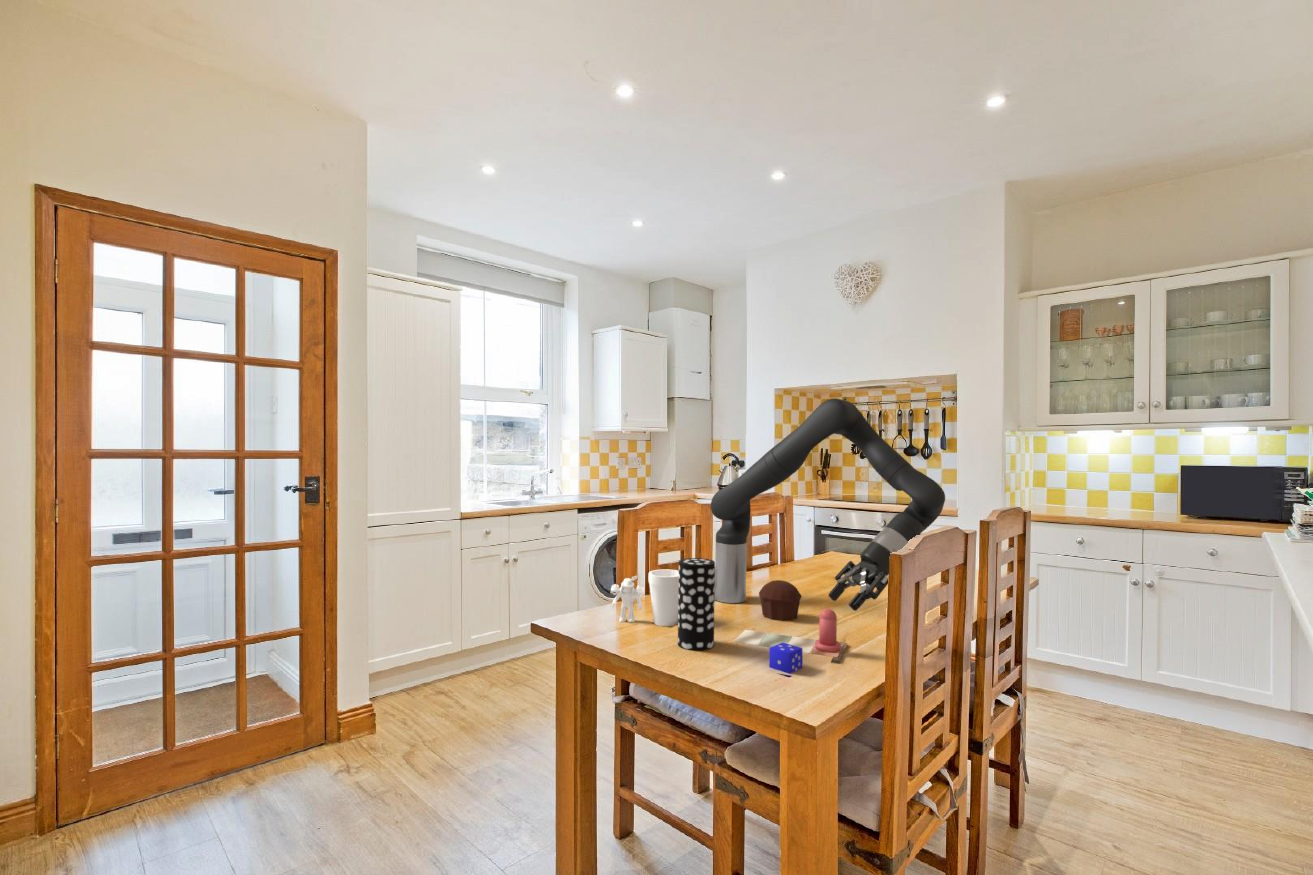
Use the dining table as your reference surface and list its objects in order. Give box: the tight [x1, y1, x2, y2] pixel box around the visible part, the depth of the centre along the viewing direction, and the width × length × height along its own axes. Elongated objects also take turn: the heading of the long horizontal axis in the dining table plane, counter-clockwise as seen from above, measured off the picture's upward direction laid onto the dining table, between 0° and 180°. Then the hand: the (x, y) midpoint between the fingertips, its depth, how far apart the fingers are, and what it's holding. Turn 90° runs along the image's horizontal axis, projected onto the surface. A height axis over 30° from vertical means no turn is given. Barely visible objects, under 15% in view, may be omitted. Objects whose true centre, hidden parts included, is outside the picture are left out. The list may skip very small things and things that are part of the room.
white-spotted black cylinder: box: [677, 557, 715, 652], centre depth 146 cm, size 8×8×20 cm
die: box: [768, 643, 803, 678], centre depth 132 cm, size 5×5×5 cm
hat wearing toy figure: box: [610, 574, 645, 623], centre depth 167 cm, size 9×4×12 cm, turn 80°
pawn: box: [814, 608, 841, 653], centre depth 144 cm, size 6×6×9 cm
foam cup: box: [648, 568, 679, 627], centre depth 165 cm, size 10×9×13 cm
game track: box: [732, 629, 848, 664], centre depth 148 cm, size 25×13×1 cm, turn 66°
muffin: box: [758, 579, 802, 622], centre depth 170 cm, size 12×11×10 cm
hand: (841, 603), depth 145 cm, fingers open, 8 cm apart
